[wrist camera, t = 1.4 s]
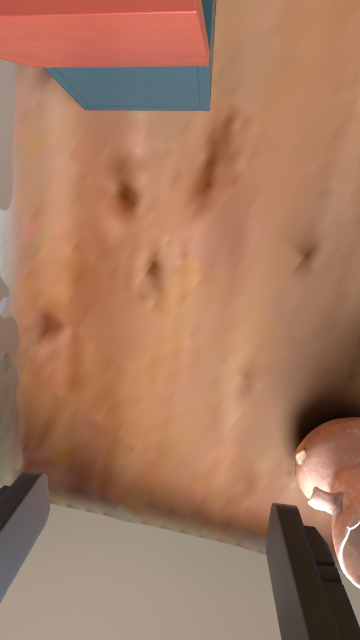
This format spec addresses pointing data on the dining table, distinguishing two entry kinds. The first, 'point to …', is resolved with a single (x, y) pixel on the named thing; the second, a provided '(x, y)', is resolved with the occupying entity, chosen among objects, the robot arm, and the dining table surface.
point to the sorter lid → (103, 33)
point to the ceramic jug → (335, 484)
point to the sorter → (143, 82)
